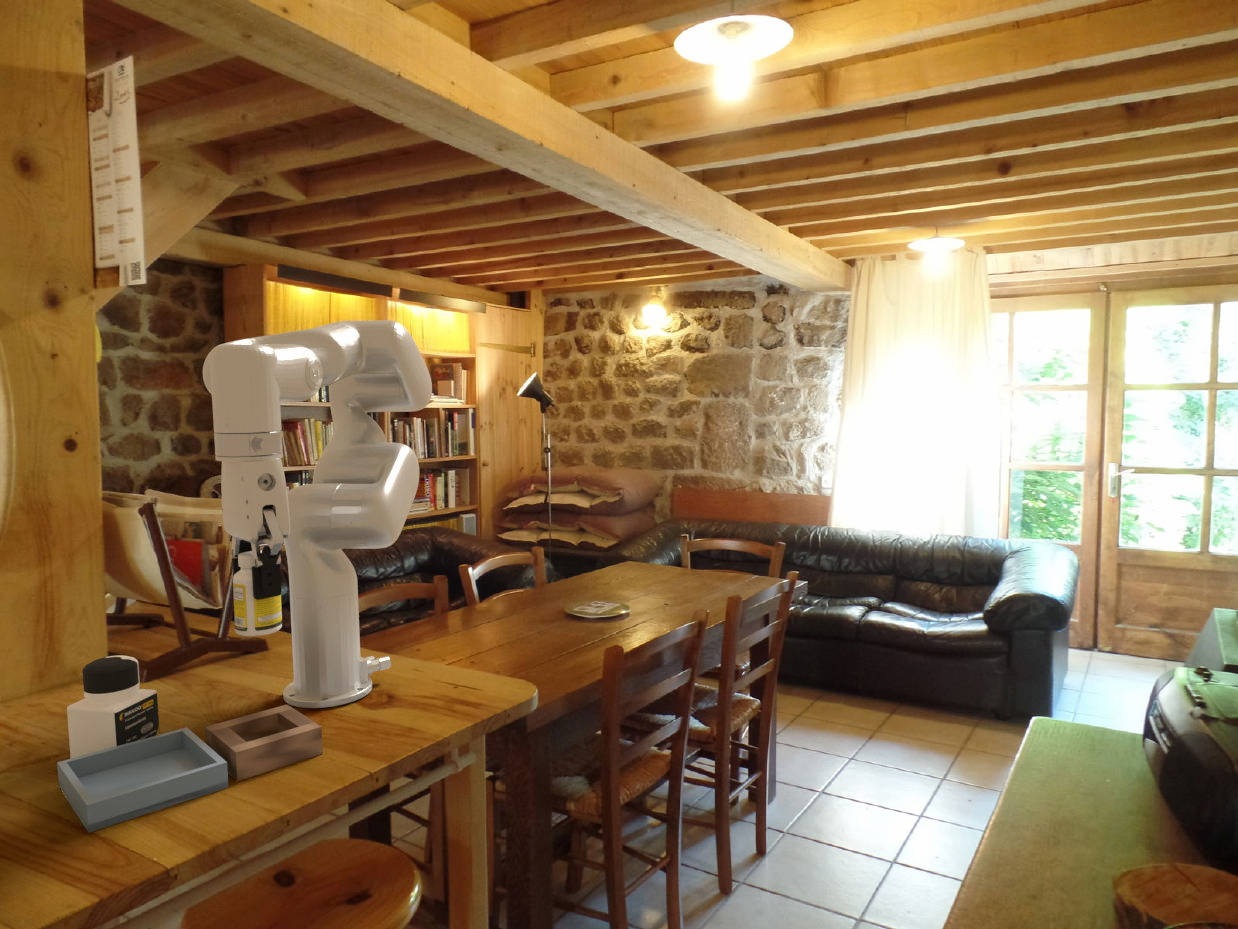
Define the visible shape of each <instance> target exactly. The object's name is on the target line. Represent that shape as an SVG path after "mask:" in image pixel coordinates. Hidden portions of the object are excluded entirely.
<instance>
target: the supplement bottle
mask: <svg viewBox="0 0 1238 929" xmlns="http://www.w3.org/2000/svg"><path fill="white" fill-rule="evenodd" d="M262 550H263V549H262ZM262 550H261V549H260V551H261V553H262ZM238 564H239V567H241V570H240V571H238V572H237V573H236V574H235V575H234V576H233V577H232V589H233V612H234V616H233V617H234V630H235V633H236V634H237V635H239V636H241V637H259V636H267V635H271V634H274V633H277V632H278V631H280V630H281V628H282V627H283V613H282V594H281V595H279V596H275V597H269V598H264V599H259V600H257V599H255V598H254V597H253V583H252V567H253V566H255V563H254V558H253V552H252V551H248V552H244V553H240V554H239V555H238Z"/></svg>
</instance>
